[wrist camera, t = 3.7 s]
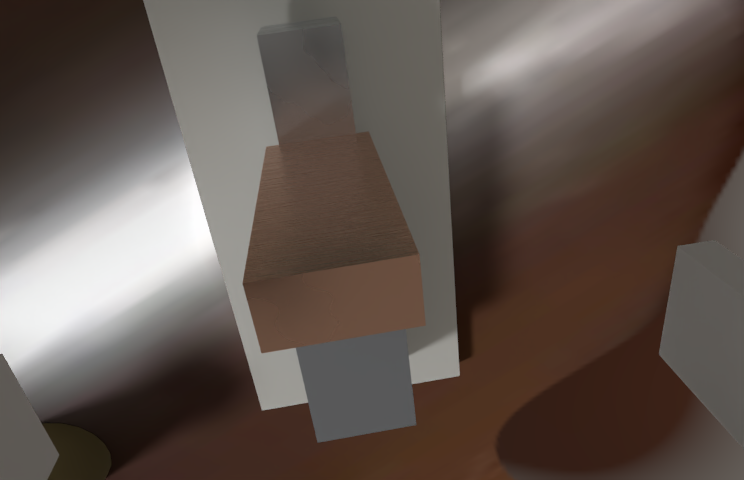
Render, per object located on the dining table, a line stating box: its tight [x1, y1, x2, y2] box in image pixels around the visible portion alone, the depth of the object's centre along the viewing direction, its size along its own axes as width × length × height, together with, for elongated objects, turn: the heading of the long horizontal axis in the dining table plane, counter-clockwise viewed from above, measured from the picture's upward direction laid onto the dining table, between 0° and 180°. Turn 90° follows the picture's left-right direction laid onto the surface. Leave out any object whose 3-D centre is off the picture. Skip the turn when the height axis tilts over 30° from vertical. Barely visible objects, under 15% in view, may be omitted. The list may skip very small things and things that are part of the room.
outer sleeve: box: [296, 329, 416, 442], centre depth 26 cm, size 12×5×5 cm, turn 7°
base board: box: [143, 0, 460, 410], centre depth 26 cm, size 31×12×1 cm, turn 7°
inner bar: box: [242, 16, 426, 353], centre depth 20 cm, size 16×4×13 cm, turn 7°
